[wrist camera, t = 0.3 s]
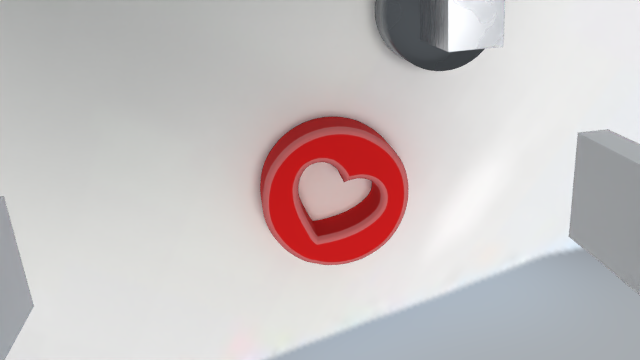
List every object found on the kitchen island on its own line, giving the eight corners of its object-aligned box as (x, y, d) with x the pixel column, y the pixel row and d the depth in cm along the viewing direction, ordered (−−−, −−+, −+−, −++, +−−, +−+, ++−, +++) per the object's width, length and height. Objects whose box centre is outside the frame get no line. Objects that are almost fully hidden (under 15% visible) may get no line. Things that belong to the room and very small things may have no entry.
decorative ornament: (259, 248, 43) (262, 269, 40) (260, 115, 40) (263, 128, 37) (391, 244, 45) (403, 265, 42) (403, 116, 41) (416, 128, 38)
